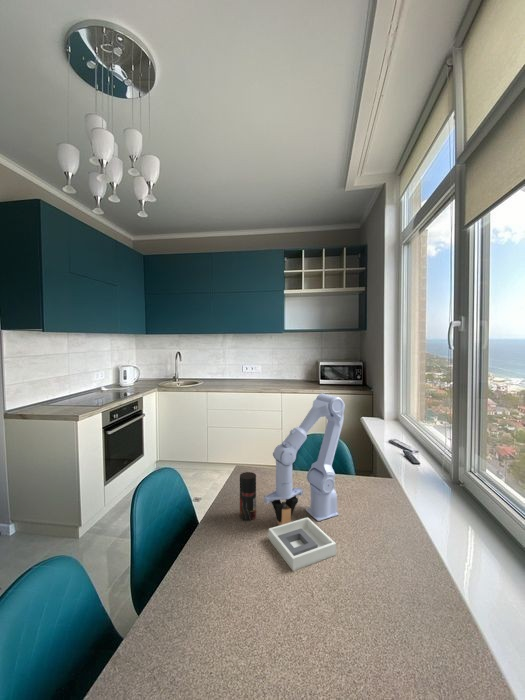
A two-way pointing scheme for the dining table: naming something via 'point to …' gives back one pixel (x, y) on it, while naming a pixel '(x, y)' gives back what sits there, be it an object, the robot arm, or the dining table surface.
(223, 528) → the dining table surface
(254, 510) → the deodorant
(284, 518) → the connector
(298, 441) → the robot arm
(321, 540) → the walled box
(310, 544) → the inlet socket
